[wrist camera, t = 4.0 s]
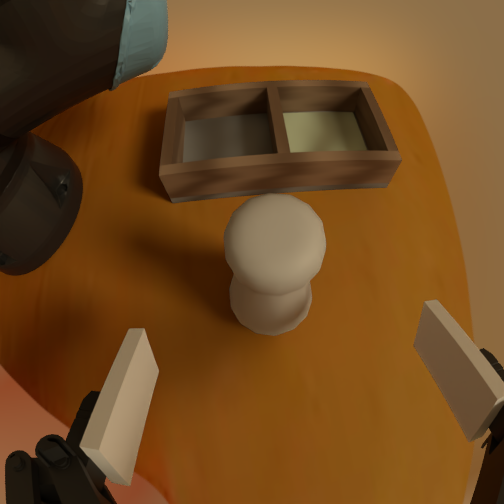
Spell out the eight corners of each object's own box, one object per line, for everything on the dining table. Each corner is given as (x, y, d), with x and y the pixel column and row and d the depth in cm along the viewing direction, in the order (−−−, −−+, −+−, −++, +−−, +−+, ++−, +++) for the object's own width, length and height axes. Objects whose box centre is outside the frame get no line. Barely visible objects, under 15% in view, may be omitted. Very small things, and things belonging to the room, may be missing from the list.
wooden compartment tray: (172, 203, 28) (158, 175, 24) (178, 121, 32) (169, 92, 28) (386, 187, 28) (401, 160, 24) (358, 110, 31) (366, 82, 27)
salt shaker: (230, 269, 25) (200, 175, 13) (301, 262, 25) (331, 164, 13) (236, 342, 23) (205, 312, 11) (311, 334, 23) (361, 294, 11)
